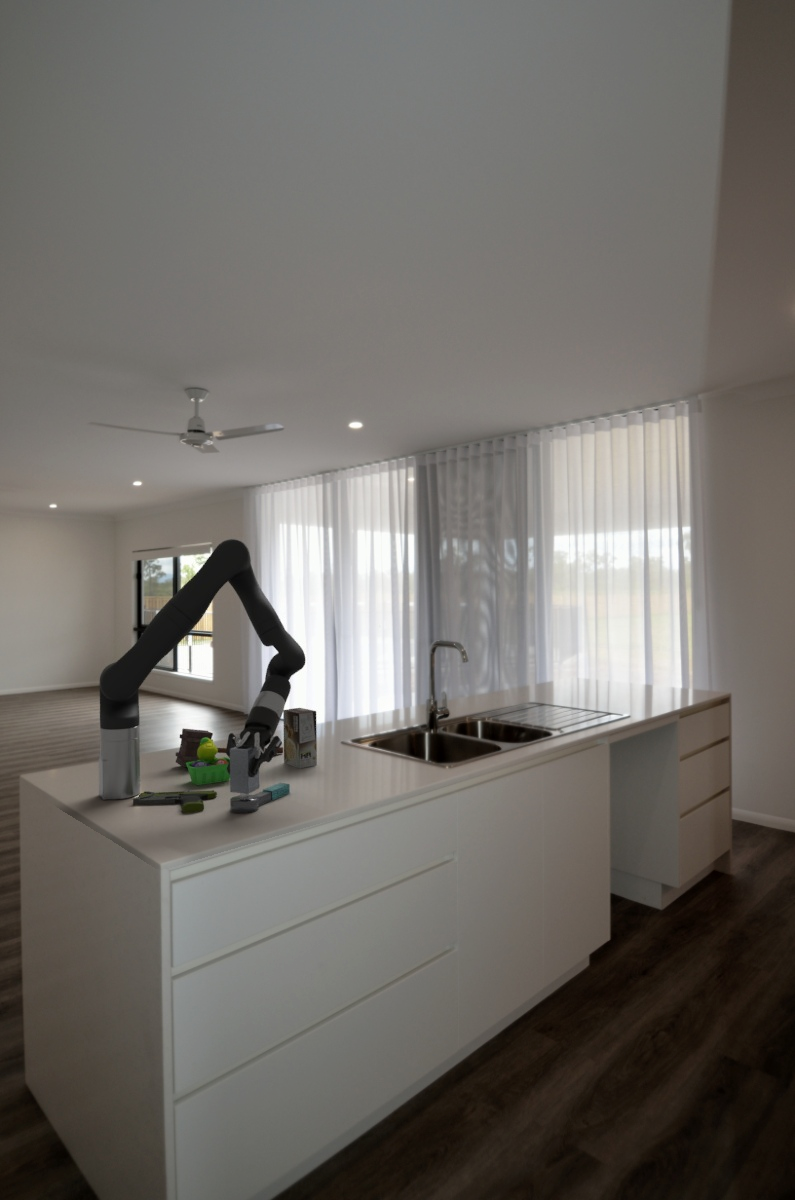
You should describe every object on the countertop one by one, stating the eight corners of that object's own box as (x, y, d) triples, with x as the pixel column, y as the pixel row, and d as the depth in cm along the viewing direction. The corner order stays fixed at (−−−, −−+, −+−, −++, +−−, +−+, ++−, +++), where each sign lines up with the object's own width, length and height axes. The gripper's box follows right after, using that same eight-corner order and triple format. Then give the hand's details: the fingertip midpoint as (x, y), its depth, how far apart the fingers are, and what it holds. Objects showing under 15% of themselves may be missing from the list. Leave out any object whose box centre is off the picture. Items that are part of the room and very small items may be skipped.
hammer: (173, 761, 202) (179, 727, 203) (274, 768, 220) (280, 736, 221) (180, 766, 196) (186, 731, 197) (283, 772, 214) (289, 740, 215)
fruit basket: (192, 787, 179) (192, 744, 179) (184, 780, 187) (184, 738, 187) (235, 781, 185) (235, 739, 185) (225, 774, 192) (225, 734, 192)
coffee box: (318, 765, 202) (317, 710, 202) (299, 768, 198) (299, 713, 198) (300, 759, 209) (300, 707, 209) (282, 763, 205) (282, 709, 205)
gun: (120, 817, 157) (141, 800, 172) (205, 814, 158) (218, 797, 173) (120, 806, 157) (141, 789, 172) (205, 803, 158) (218, 786, 173)
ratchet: (246, 815, 156) (246, 788, 156) (224, 811, 159) (224, 785, 159) (295, 794, 172) (295, 770, 172) (274, 790, 175) (274, 767, 175)
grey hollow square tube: (230, 792, 158) (229, 748, 158) (241, 786, 163) (240, 744, 163) (248, 793, 157) (247, 750, 157) (259, 788, 161) (258, 745, 161)
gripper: (234, 703, 169) (206, 764, 158) (286, 706, 165) (261, 768, 153) (246, 721, 174) (220, 781, 163) (296, 724, 170) (273, 785, 158)
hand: (240, 774), depth 158 cm, fingers closed on grey hollow square tube, 4 cm apart
